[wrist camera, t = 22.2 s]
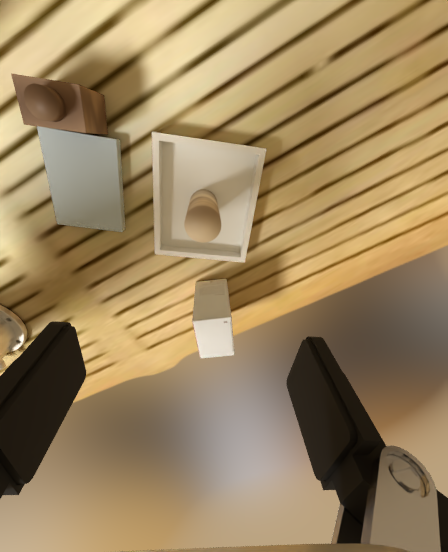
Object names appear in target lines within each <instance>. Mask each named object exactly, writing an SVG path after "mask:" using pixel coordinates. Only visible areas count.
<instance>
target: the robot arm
mask: <svg viewBox="0 0 448 552" xmlns="http://www.w3.org/2000/svg"><path fill="white" fill-rule="evenodd" d="M26 339H27V329H26V327H25V325H24V323H23V322H22V320H21V319H20V318H19V317H18V316H17V315H16V314H14V313H13V312H12V311H10V310H9V309H7V308H5V307H3V306H1V305H0V370H1V369H3V368H4V367H5V366H6V365H5V363H4V361H3V360H2V358H3V357H4V356H5V355H6V354H7V353H8V352H12V351H15V350H17V349H18V348H20V347H21V346H22V345H23V344H24V343H25V341H26ZM85 377H86V369H85V365H84V361H83V357H82V353H81V349H80V345H79V341H78V337H77V333H76V329H75V327H72V326H71V324H70V323H68V322H50V323H49V324H48V325H47V326H46V327H45V328H44V330H43V331H42V332H41V333H40V334H39V335H38V336H37V337H36V339H35V340H34V341H33V342H32V343H31V344H30V345H29V346H28V348H27V349H26V350H25V351H24V352H23V353H22V354H21V355H20V357H19V358H17V359H16V360H15V361H14V362H13V363H12V364H11V365H10V366H9V367H8V368H7V369H6V371H5V372H4V373H3V374H2V375H1V376H0V498H1V497H2V495H19V493H20V491H21V489H22V488H23V486H24V484H27V483H29V482H30V481H31V479H32V478H33V476H34V475H35V473H36V471H37V469H38V467H39V465H40V463H41V462H42V460H43V458H44V456H45V454H46V452H47V450H48V448H49V446H50V444H51V443H52V441H53V439H54V437H55V435H56V433H57V431H58V429H59V427H60V426H61V424H62V422H63V420H64V418H65V416H66V414H67V412H68V410H69V408H70V406H71V405H72V403H73V401H74V399H75V397H76V395H77V393H78V391H79V390H80V388H81V386H82V384H83V382H84V380H85ZM287 388H288V391H289V395H290V398H291V401H292V404H293V407H294V410H295V414H296V417H297V420H298V423H299V426H300V429H301V433H302V436H303V439H304V442H305V446H306V449H307V452H308V455H309V458H310V461H311V465H312V468H313V471H314V474H315V476H316V478H317V479H318V480H320V481H321V484H322V487H323V490H336V492H337V495H338V498H339V500H340V506H339V510H338V515H337V520H336V524H335V528H334V533H333V538H332V541H331V544H300V545H271V546H245V547H244V546H243V547H218V548H217V547H216V548H193V549H168V550H146V551H121V552H448V498H447V497H446V496H444V495H443V494H442V493H440V492H439V491H438V490H436V487H435V484H434V482H433V480H432V477H431V475H430V474H429V472H428V471H427V470H426V468H425V467H424V466H423V464H422V463H421V462H420V461H419V460H417V458H416V457H414V456H413V455H412V454H410V453H409V452H408V451H406V450H404V449H402V448H400V447H396V446H386V445H385V443H384V441H383V440H382V438H381V436H380V435H379V433H378V431H377V429H376V428H375V426H374V424H373V422H372V421H371V419H370V417H369V415H368V414H367V412H366V411H365V409H364V407H363V405H362V404H361V402H360V400H359V398H358V396H357V395H356V393H355V391H354V390H353V388H352V386H351V384H350V383H349V381H348V379H347V377H346V376H345V374H344V373H343V372H342V370H341V369H340V367H339V365H338V363H337V362H336V360H335V358H334V356H333V355H332V353H331V351H330V349H329V348H328V346H327V344H326V343H325V341H324V339H323V338H321V337H307V338H306V340H303V341H302V343H301V346H300V348H299V351H298V353H297V356H296V358H295V361H294V363H293V365H292V368H291V370H290V373H289V375H288V378H287Z"/></svg>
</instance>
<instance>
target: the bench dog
mask: <svg viewBox="0 0 448 552" xmlns="http://www.w3.org/2000/svg"><path fill="white" fill-rule="evenodd" d="M11 75H12V79H13V82H14V86H15V90H16V94H17V98H18V102H19V106H20V110H21V114H22V118H23V122H24V124H26V125H33V126H40V127H47V128H54V129H61V130H68V131H75V132H82V133H92V134H107V135H108V130H107V120H106V111H105V101H104V95H102V94H100V93H97V92H95V91H93V90H90V89H88V88H86V87H83V86H81V85H78V84H72V83H66V82H60V81H54V80H47V79H41V78H35V77H29V76H23V75H17V74H11Z"/></svg>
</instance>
